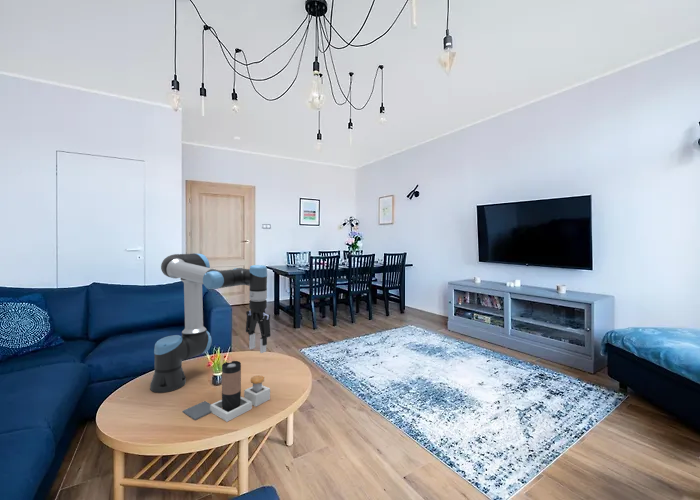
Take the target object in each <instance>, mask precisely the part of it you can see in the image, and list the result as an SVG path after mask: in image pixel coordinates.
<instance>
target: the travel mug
mask: <svg viewBox="0 0 700 500" xmlns="http://www.w3.org/2000/svg"><path fill="white" fill-rule="evenodd" d="M241 394H242V363H241V361H238V360H232V361H231V362H227V361H226V362H223V364H222V365H221V400H222V408H221V409H223V410H225V411H227V412H229V411H231V410H233V409H235V408H237V407H239V406H241V405H240V399H241V397H242V396H241Z"/></svg>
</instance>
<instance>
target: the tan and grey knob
mask: <svg viewBox="0 0 700 500" xmlns="http://www.w3.org/2000/svg"><path fill="white" fill-rule="evenodd" d="M263 382H265V376H263V375H254V376H252V377H251V378H250V383H251V384H252V386H253V392H255V393H258V392H260V391H262V385H263Z"/></svg>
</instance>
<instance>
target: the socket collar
mask: <svg viewBox="0 0 700 500" xmlns="http://www.w3.org/2000/svg"><path fill="white" fill-rule="evenodd" d="M210 404H211V405H210V411H211V413H210V414H213V415H214V416H217V417H218V418H220V419H221V420H223V421H225V422H226V423H228V422H229V421H232V420H234V419H235V418H237V417H240V416H241V415H243V414H245V413H247V412H248V411H251V410H252V409H253V405H252V402H251V401H249V400H247V399H245V398H244V397H243V396H241V399H240V406H239V407H237V408H235V409H233V410H231V411H229V412H227V411H225V410H223V409H222V399H219V400H218V401H216V402H213V403H210Z"/></svg>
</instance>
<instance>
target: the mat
mask: <svg viewBox="0 0 700 500" xmlns="http://www.w3.org/2000/svg"><path fill="white" fill-rule="evenodd" d="M211 404H212V403H209V402H208V401H206V400H204V401H202V402H200V403H196V404H195V405H193V406H190V407H188V408H186V409H183V410H182V413H183V414H185V415H187V416H188V417H189V418H191V419H192V420H194V421H197V420H200V419H202V418H203V417H205V416H208V415H209V414H212V413H211V411H210V405H211Z"/></svg>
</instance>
